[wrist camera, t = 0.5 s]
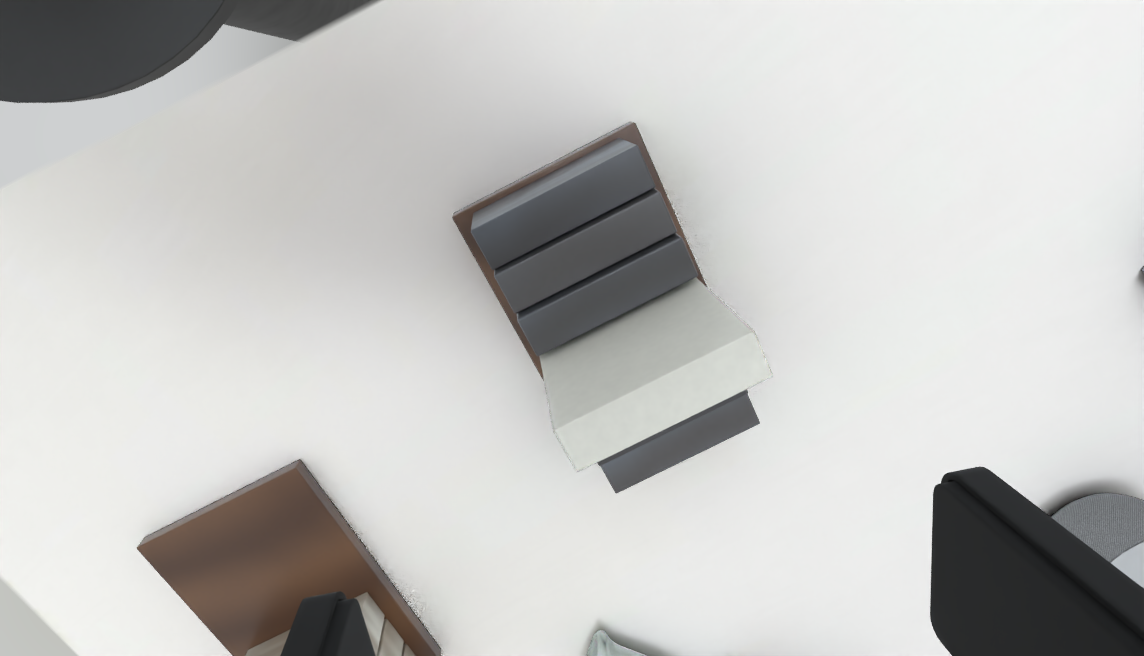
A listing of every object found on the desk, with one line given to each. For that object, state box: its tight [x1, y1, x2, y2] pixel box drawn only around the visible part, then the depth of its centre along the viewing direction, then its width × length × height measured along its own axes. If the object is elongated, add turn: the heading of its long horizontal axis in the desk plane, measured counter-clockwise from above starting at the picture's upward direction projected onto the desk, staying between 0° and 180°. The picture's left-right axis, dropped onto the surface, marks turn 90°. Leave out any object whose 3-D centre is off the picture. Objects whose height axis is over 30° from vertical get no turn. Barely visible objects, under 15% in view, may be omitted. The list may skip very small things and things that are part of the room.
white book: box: [540, 278, 773, 472], centre depth 31 cm, size 2×8×12 cm, turn 116°
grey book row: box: [453, 122, 760, 493], centre depth 34 cm, size 16×10×6 cm, turn 26°
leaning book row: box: [137, 460, 441, 656], centre depth 38 cm, size 16×10×8 cm, turn 26°
